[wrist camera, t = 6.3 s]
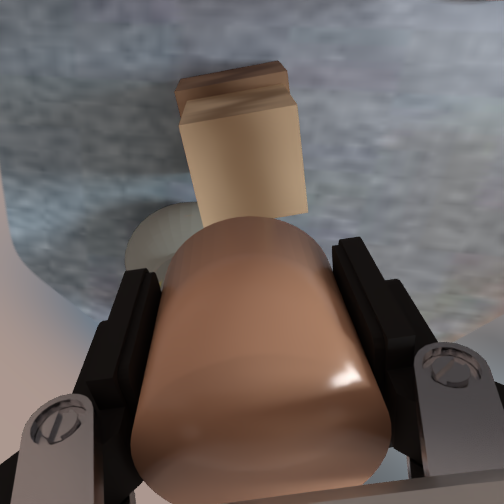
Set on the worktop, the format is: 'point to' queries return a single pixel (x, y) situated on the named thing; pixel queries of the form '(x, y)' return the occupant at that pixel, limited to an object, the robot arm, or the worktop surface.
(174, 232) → the air freshener
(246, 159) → the top block
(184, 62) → the worktop surface
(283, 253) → the brown rounded cylinder
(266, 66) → the base block
